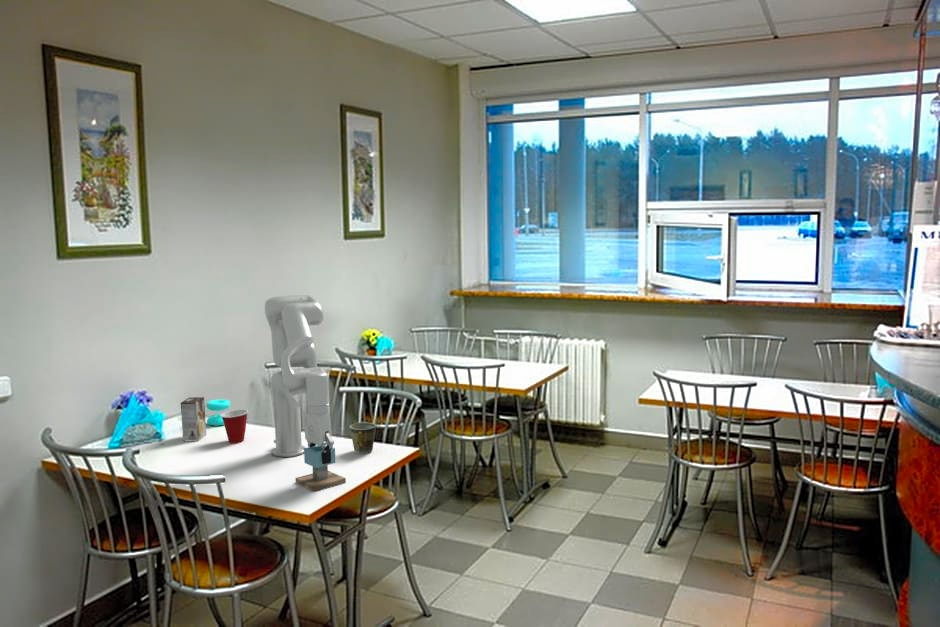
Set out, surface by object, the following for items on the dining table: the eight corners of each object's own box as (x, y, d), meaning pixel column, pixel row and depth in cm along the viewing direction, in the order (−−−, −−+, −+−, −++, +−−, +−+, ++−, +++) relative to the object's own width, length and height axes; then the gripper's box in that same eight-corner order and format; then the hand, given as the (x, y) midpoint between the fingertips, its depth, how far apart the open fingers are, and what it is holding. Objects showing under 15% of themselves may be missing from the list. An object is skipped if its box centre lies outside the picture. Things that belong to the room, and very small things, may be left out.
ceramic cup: (353, 447, 291) (352, 422, 289) (378, 447, 290) (378, 422, 289) (346, 458, 278) (345, 431, 276) (373, 458, 277) (372, 431, 276)
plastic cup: (227, 437, 306) (225, 408, 304) (253, 437, 305) (252, 408, 304) (217, 445, 295) (215, 415, 293) (244, 445, 294) (243, 415, 293)
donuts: (201, 403, 321) (212, 398, 331) (203, 426, 322) (213, 420, 332) (223, 404, 320) (234, 398, 329) (225, 427, 321) (235, 420, 331)
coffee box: (191, 435, 309) (189, 396, 307) (206, 434, 309) (204, 396, 307) (182, 441, 300) (180, 402, 298) (198, 441, 300) (196, 402, 298)
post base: (295, 482, 252) (294, 460, 251) (326, 473, 260) (325, 453, 259) (314, 491, 244) (313, 469, 243) (345, 482, 252) (345, 460, 251)
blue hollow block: (304, 462, 251) (304, 448, 251) (323, 458, 256) (323, 443, 256) (316, 468, 246) (315, 453, 245) (335, 462, 251) (335, 448, 250)
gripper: (294, 406, 253) (296, 457, 255) (322, 415, 240) (324, 469, 242) (314, 402, 258) (315, 452, 260) (342, 411, 245) (344, 463, 247)
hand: (320, 460), depth 251 cm, fingers closed on blue hollow block, 7 cm apart
